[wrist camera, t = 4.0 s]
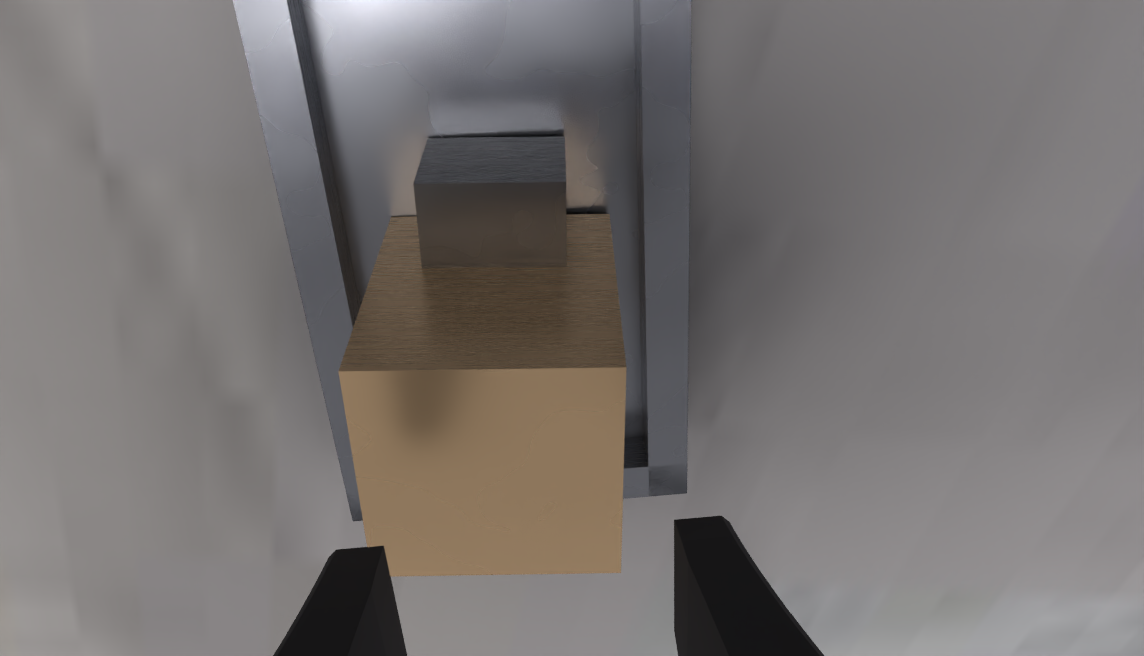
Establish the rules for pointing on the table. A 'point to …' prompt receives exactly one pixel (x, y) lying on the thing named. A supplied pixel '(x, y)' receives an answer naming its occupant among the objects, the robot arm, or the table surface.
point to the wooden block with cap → (490, 372)
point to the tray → (486, 109)
